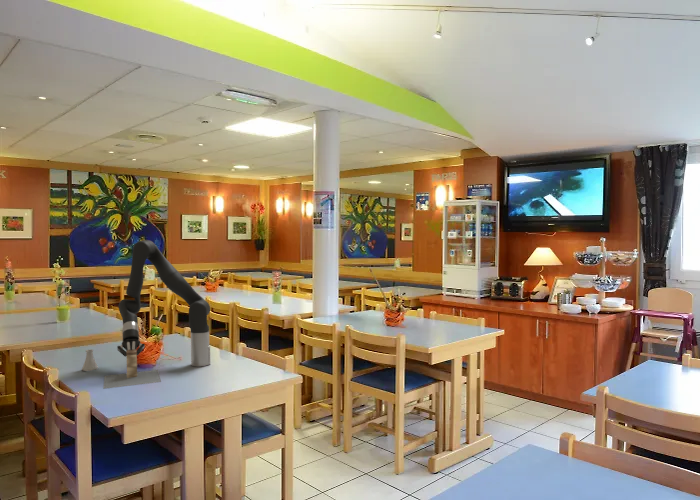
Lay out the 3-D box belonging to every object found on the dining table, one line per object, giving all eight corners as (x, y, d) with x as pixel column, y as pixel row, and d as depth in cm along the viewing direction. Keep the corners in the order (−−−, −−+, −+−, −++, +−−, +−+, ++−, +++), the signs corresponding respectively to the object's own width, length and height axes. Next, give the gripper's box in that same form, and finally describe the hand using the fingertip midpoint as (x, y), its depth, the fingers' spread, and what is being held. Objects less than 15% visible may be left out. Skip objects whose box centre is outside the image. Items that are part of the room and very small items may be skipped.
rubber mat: (157, 370, 255) (157, 369, 255) (161, 382, 235) (161, 381, 235) (104, 376, 245) (104, 375, 245) (103, 389, 225) (103, 388, 225)
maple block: (136, 373, 248) (136, 349, 247) (137, 376, 244) (136, 352, 243) (126, 374, 246) (126, 350, 245) (127, 377, 242) (126, 352, 241)
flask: (91, 372, 254) (90, 352, 253) (78, 371, 255) (78, 351, 255) (101, 368, 261) (100, 348, 260) (88, 367, 262) (88, 348, 262)
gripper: (115, 329, 252) (116, 359, 242) (144, 327, 258) (146, 356, 247) (116, 338, 257) (116, 368, 247) (144, 335, 263) (146, 365, 252)
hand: (131, 362), depth 247 cm, fingers closed
